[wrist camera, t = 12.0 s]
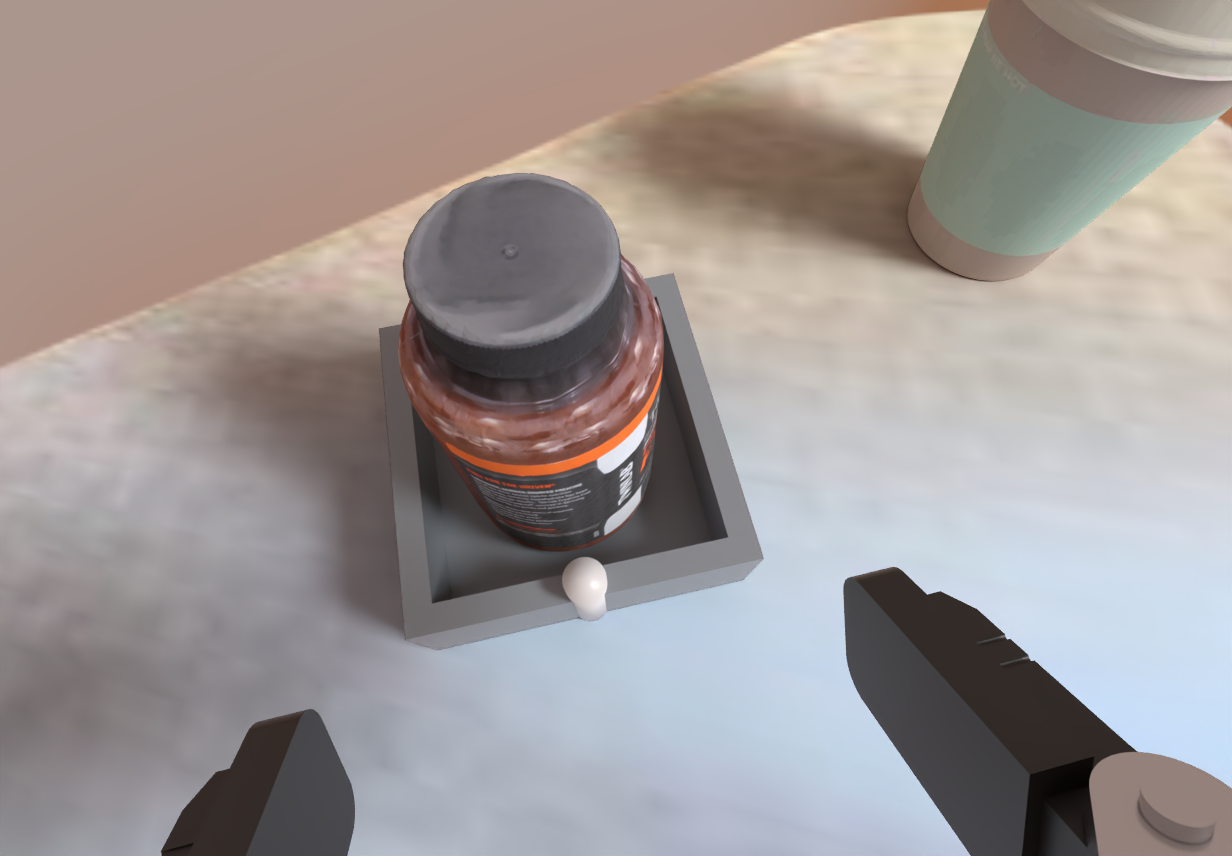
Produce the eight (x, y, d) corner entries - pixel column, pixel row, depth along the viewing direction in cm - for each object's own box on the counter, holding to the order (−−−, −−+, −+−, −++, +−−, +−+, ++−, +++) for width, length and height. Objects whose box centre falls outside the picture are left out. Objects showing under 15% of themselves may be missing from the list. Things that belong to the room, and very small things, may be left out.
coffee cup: (1096, 186, 28) (1407, -156, 17) (1063, 341, 25) (1420, 44, 14) (902, 128, 29) (1071, -221, 18) (848, 266, 26) (1014, -55, 15)
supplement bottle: (677, 520, 21) (731, 337, 11) (503, 583, 20) (380, 453, 10) (615, 370, 23) (610, 100, 13) (457, 422, 23) (317, 179, 12)
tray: (438, 656, 20) (397, 645, 16) (408, 371, 24) (371, 311, 21) (745, 585, 21) (771, 559, 17) (666, 321, 25) (673, 255, 21)
